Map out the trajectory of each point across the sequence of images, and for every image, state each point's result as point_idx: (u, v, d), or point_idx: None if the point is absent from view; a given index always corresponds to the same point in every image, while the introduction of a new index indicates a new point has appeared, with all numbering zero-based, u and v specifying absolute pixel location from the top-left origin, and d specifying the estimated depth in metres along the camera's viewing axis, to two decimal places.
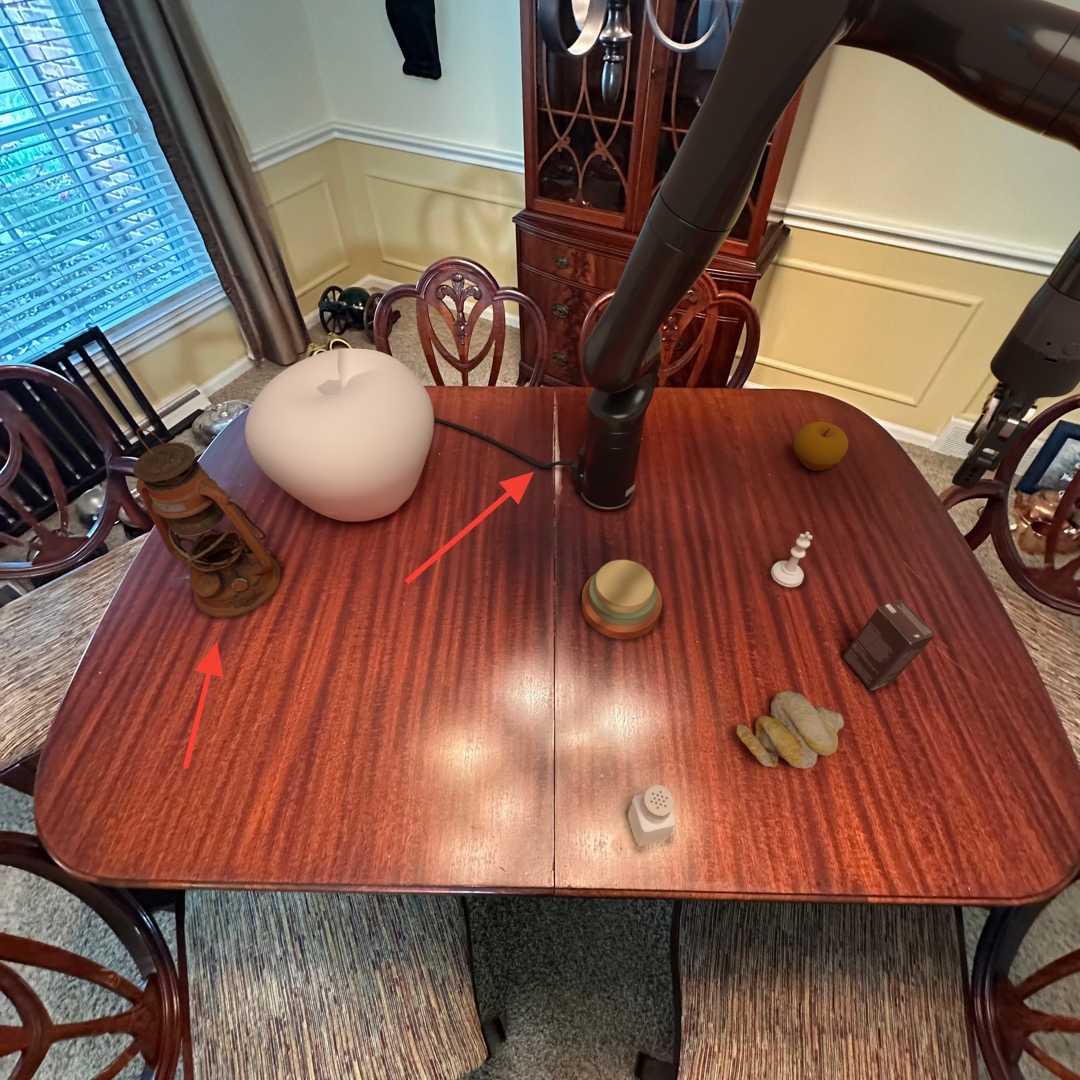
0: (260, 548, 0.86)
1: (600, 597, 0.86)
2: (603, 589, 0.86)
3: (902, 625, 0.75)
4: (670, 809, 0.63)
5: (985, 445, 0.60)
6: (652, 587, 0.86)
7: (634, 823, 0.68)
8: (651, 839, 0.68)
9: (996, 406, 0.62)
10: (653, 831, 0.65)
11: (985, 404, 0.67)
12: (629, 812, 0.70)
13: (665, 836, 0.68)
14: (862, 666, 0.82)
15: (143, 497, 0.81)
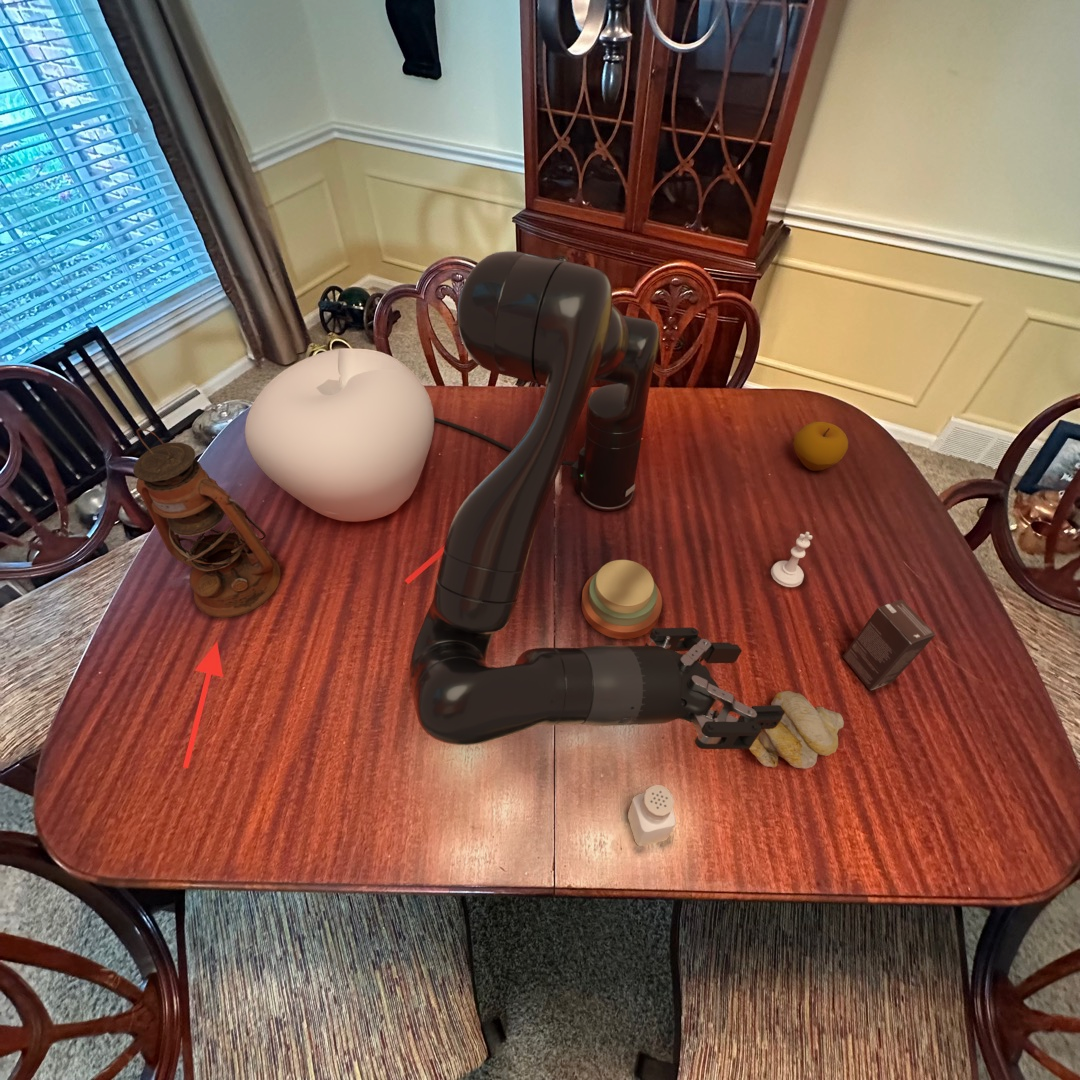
0: (260, 548, 0.86)
1: (600, 597, 0.86)
2: (603, 589, 0.86)
3: (902, 625, 0.75)
4: (670, 809, 0.63)
5: None
6: (652, 587, 0.86)
7: (634, 823, 0.68)
8: (651, 839, 0.68)
9: None
10: (653, 831, 0.65)
11: (730, 694, 0.59)
12: (629, 812, 0.70)
13: (665, 836, 0.68)
14: (862, 666, 0.82)
15: (143, 497, 0.81)
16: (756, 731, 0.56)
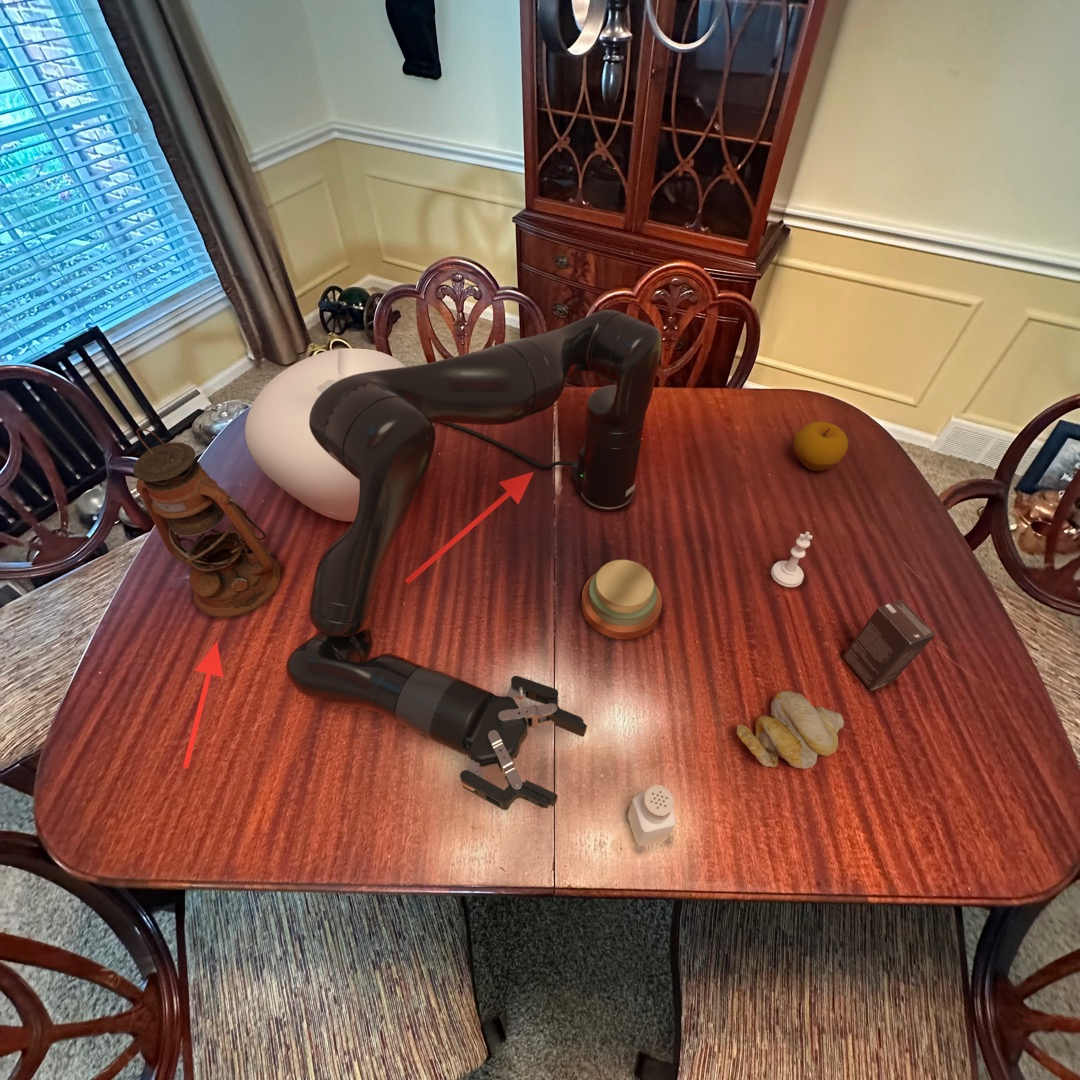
0: (260, 548, 0.86)
1: (600, 597, 0.86)
2: (603, 589, 0.86)
3: (902, 625, 0.75)
4: (670, 809, 0.63)
5: None
6: (652, 587, 0.86)
7: (634, 823, 0.68)
8: (651, 839, 0.68)
9: None
10: (653, 831, 0.65)
11: (511, 760, 0.65)
12: (629, 812, 0.70)
13: (665, 836, 0.68)
14: (862, 666, 0.82)
15: (143, 497, 0.81)
16: (500, 800, 0.63)
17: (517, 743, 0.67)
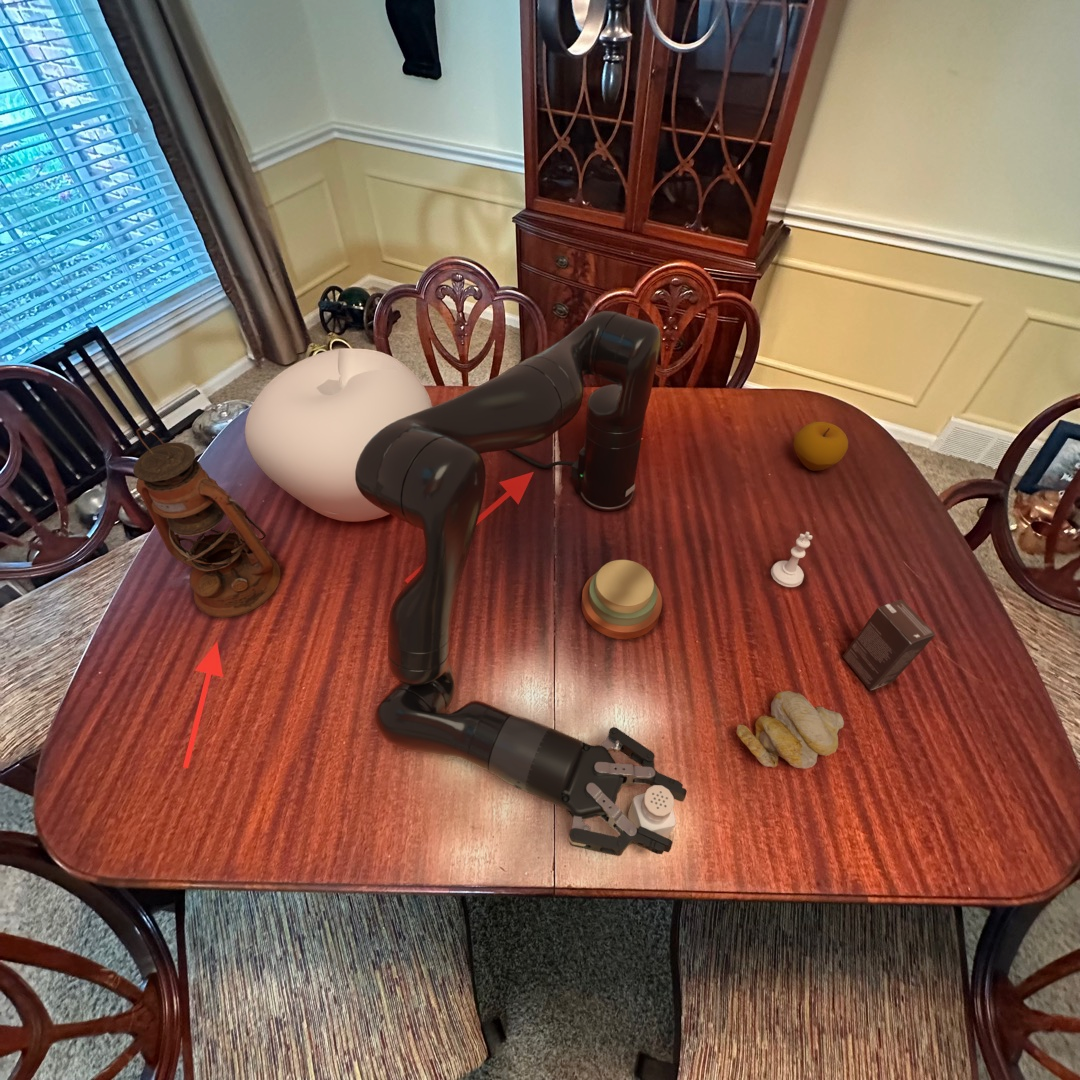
0: (260, 548, 0.86)
1: (600, 597, 0.86)
2: (603, 589, 0.86)
3: (902, 625, 0.75)
4: (670, 809, 0.63)
5: None
6: (652, 587, 0.86)
7: (634, 823, 0.68)
8: None
9: None
10: (653, 831, 0.65)
11: (618, 808, 0.65)
12: (629, 812, 0.70)
13: (665, 836, 0.68)
14: (862, 666, 0.82)
15: (143, 497, 0.81)
16: (617, 847, 0.63)
17: (615, 796, 0.66)
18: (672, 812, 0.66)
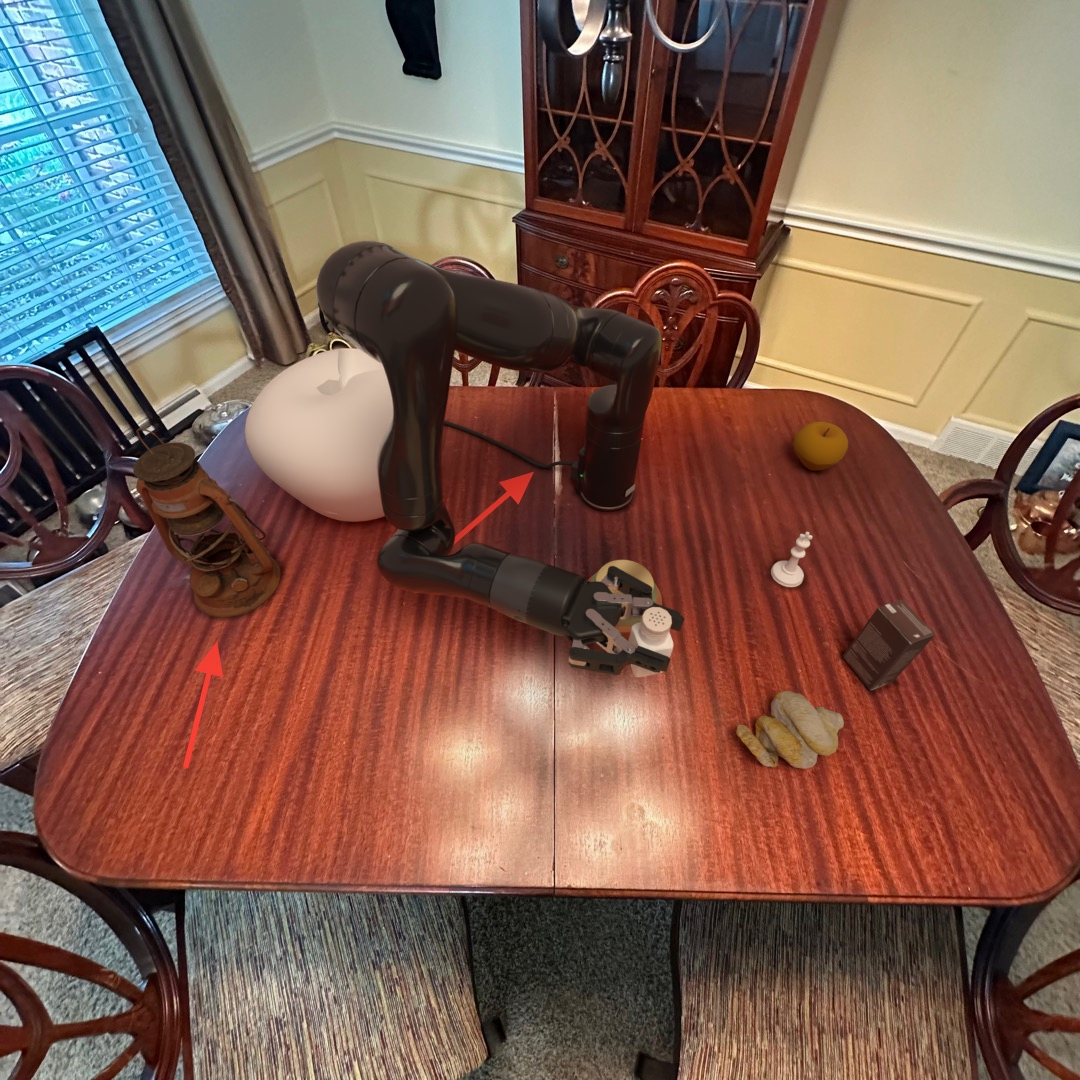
0: (260, 548, 0.86)
1: None
2: None
3: (902, 625, 0.75)
4: (668, 626, 0.64)
5: None
6: (652, 587, 0.86)
7: None
8: None
9: None
10: None
11: (617, 630, 0.66)
12: None
13: None
14: (862, 666, 0.82)
15: (143, 497, 0.81)
16: (616, 662, 0.64)
17: (614, 621, 0.68)
18: (670, 636, 0.67)
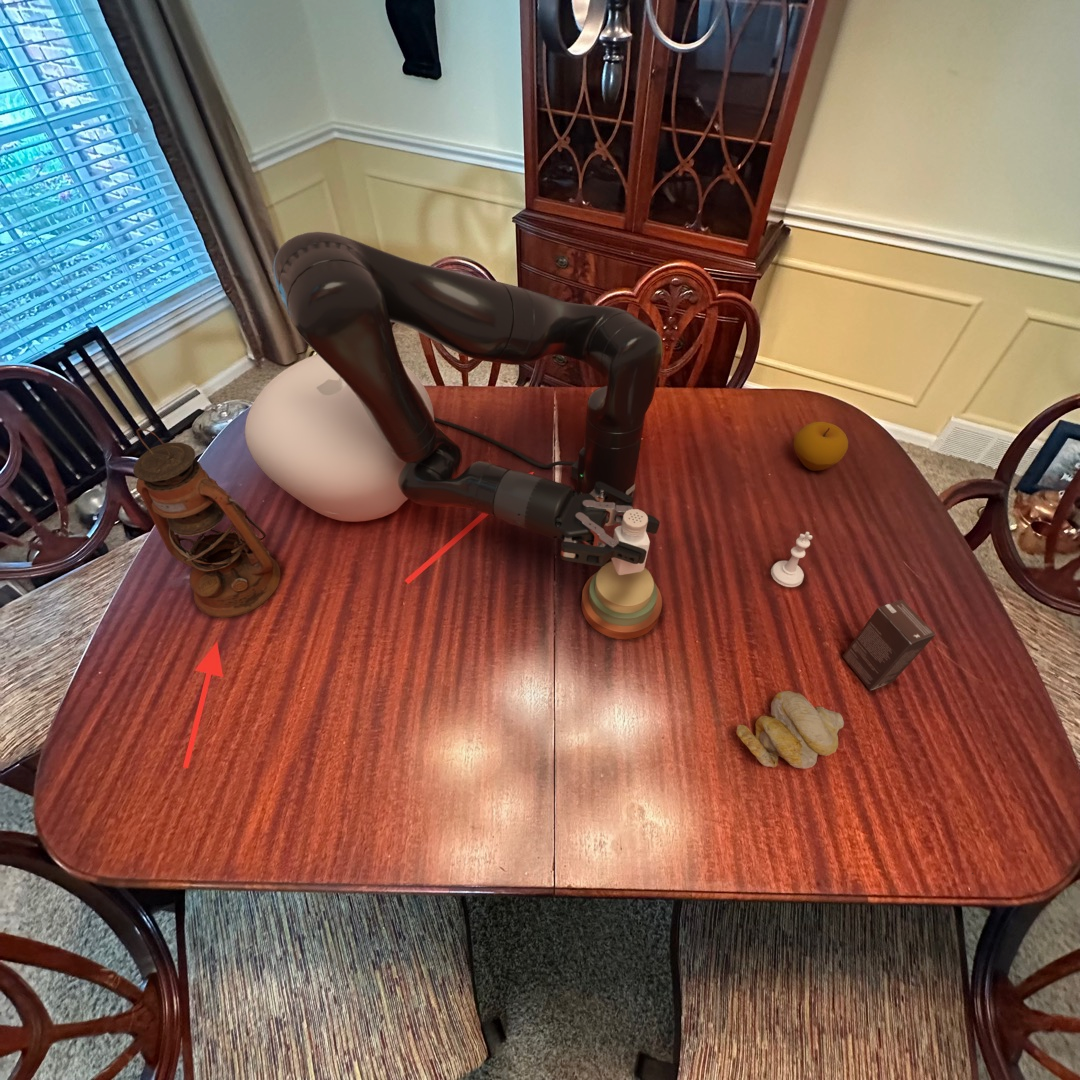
0: (260, 548, 0.86)
1: (600, 597, 0.86)
2: (603, 589, 0.86)
3: (902, 625, 0.75)
4: (644, 523, 0.76)
5: None
6: (652, 587, 0.86)
7: None
8: (629, 564, 0.81)
9: None
10: None
11: None
12: None
13: None
14: (862, 666, 0.82)
15: (143, 497, 0.81)
16: (600, 553, 0.76)
17: (600, 523, 0.79)
18: (646, 536, 0.79)
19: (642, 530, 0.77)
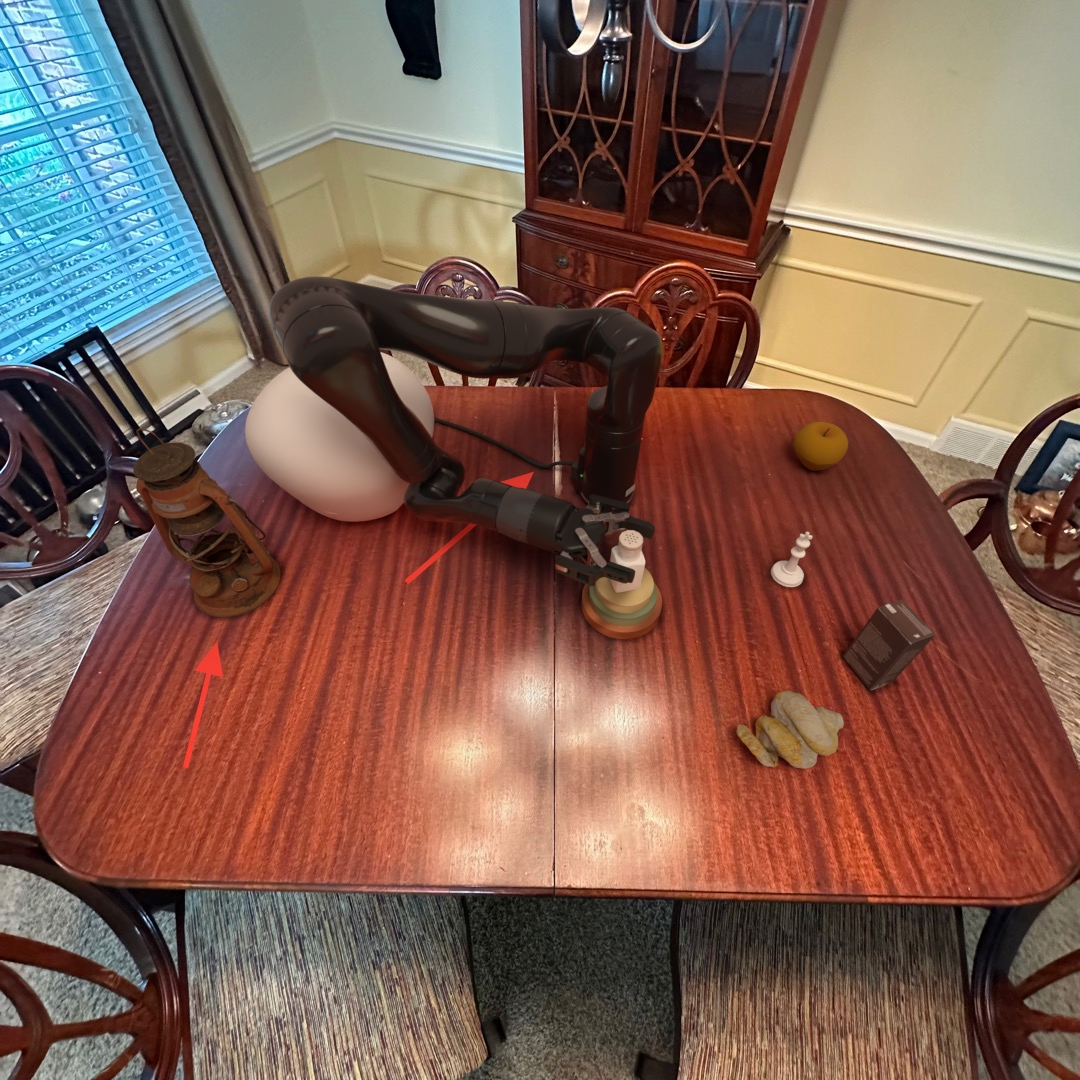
0: (260, 548, 0.86)
1: (600, 597, 0.86)
2: (603, 589, 0.86)
3: (902, 625, 0.75)
4: (640, 544, 0.79)
5: None
6: (652, 587, 0.86)
7: None
8: None
9: None
10: None
11: (596, 547, 0.80)
12: None
13: (637, 581, 0.84)
14: (862, 666, 0.82)
15: (143, 497, 0.81)
16: (590, 573, 0.78)
17: (599, 538, 0.82)
18: (642, 555, 0.82)
19: (637, 550, 0.80)
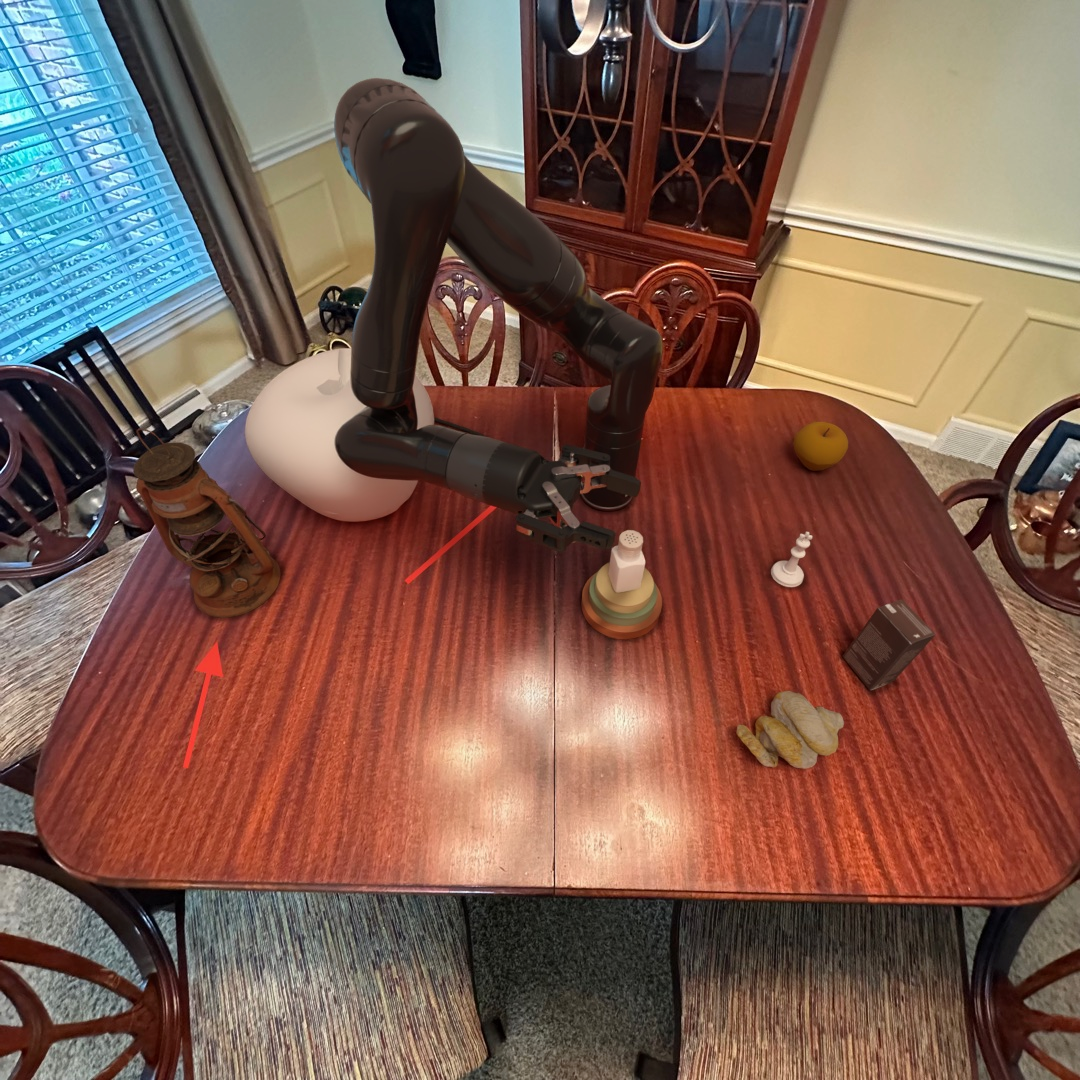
0: (260, 548, 0.86)
1: (600, 597, 0.86)
2: (603, 589, 0.86)
3: (902, 625, 0.75)
4: (640, 544, 0.79)
5: None
6: (652, 587, 0.86)
7: (612, 571, 0.84)
8: (626, 582, 0.84)
9: None
10: (627, 568, 0.81)
11: (567, 505, 0.64)
12: (609, 567, 0.86)
13: (637, 581, 0.84)
14: (862, 666, 0.82)
15: (143, 497, 0.81)
16: (558, 535, 0.62)
17: (571, 494, 0.66)
18: (642, 555, 0.82)
19: (637, 550, 0.80)
